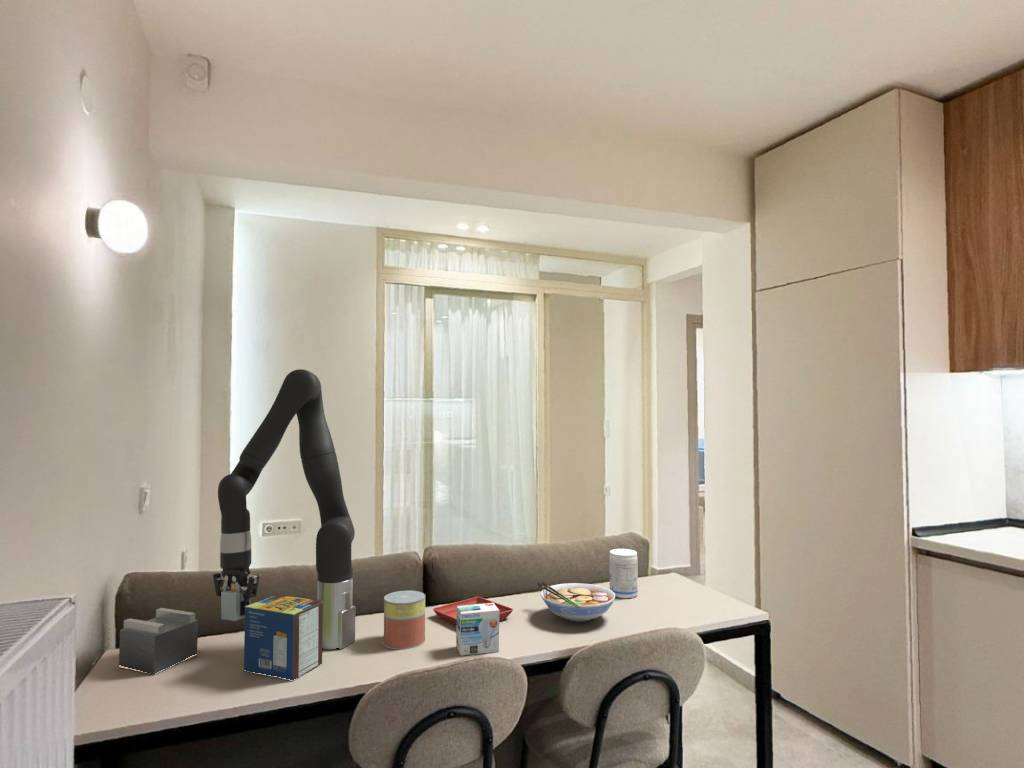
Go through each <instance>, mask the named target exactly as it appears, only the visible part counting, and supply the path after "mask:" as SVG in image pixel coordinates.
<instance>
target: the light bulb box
mask: <svg viewBox="0 0 1024 768" xmlns="http://www.w3.org/2000/svg"><path fill="white" fill-rule="evenodd" d="M455 628H456V629H455V630H456V635H455V636H456V638H455V639H456V640H455V644H456V645H455V647H456V648H457V651H458V653H459V656H469V655H480V654H481V655H482V654H491V653H499V652H500V621H499V609H498V608H497V607H496V605H495V604H494V603H485V604H474V605H462V606H457V625H456V627H455Z"/></svg>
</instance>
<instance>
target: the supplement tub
mask: <svg viewBox="0 0 1024 768" xmlns="http://www.w3.org/2000/svg"><path fill="white" fill-rule="evenodd" d="M608 558H609V589H610V590H611V591H613V592H614V593H615V598H618V599H633V598H635V597H637V596H638V593H639V590H638V589H639V588H638V586H639V585H638V584H639V583H638V581H639V580H638V579H639V578H638V572H639V571H638V570H639V569H638V552H637V551H636V550H634V549H629V548H613V549H611V550H610V551H609V557H608Z"/></svg>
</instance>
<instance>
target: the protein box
mask: <svg viewBox="0 0 1024 768" xmlns="http://www.w3.org/2000/svg"><path fill="white" fill-rule="evenodd" d="M322 613H323V601H320V600H317V599H311V598H304V597H303V598H302V597H296V596H290V595H289V596H287V595H281V594H280V595H279V594H274V595H272V596H269V597H267V598H264V599H261V600H259V601H256V602H252V603H251V604H250V605H248V606H245V617H244V640H243V641H244V643H243V645H244V646H243V649H244V650H243V671H244V670H246V671H250V672H255V673H261V674H266V675H271V676H277V677H281V678H286V679H290V680H294V679H296V678H297V679H299V678H300V677H299V676H301V675H302V676H304V675H306V674H307V673H309V672H311V671H313V670H314V669H316V668H318V667H319V666H321V665H322V664H323V649H322V615H323V614H322ZM320 664H321V665H320ZM318 665H319V666H318ZM317 666H318V667H317ZM315 667H316V668H315ZM313 668H314V669H313ZM310 670H311V671H310ZM246 671H245V672H246ZM308 671H309V672H308ZM250 672H249V673H250ZM306 672H307V673H306ZM255 673H254V674H255ZM305 673H306V674H305ZM303 674H304V675H303ZM302 676H301V677H302ZM298 677H299V678H298ZM297 679H296V680H297ZM294 681H295V680H294Z"/></svg>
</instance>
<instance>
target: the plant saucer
mask: <svg viewBox="0 0 1024 768" xmlns="http://www.w3.org/2000/svg"><path fill="white" fill-rule="evenodd" d="M485 603H494V604H495V605H496V607H497V608H498V609H499V622H500V620H501V621H504V620H507V618H508V617H509V616H510V615H511V614H512V613H513V611H514V608H513V607H509V606H508V605H507V606H506V605H503V604H500V603H498V602H495V601H492V600H490V599H486V598H484V597H481V596H474V597H471V598H467V599H463V600H460V601H456V602H452V603H448V604H445V605H440V606H436V607H433V609H432V610H433V612H434V613H435V614H436V616H437V617H439V619H441V620H443V621H445V622H448V623H450V624H452V623H453V625H454V626H457V606H462V605H474V604H485ZM503 619H504V620H503Z"/></svg>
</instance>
